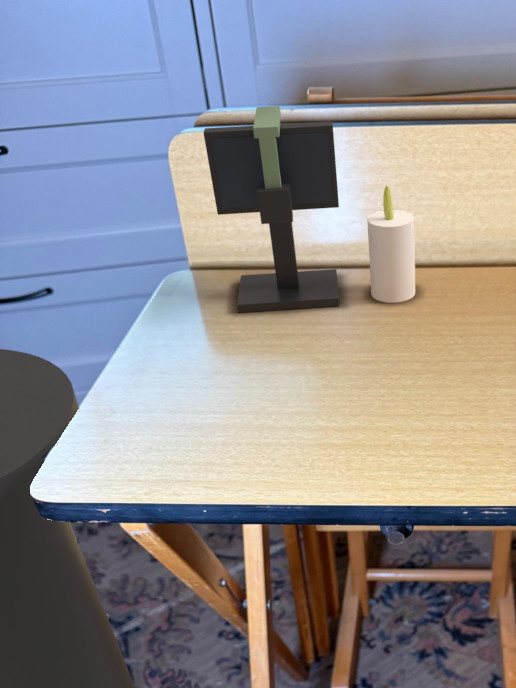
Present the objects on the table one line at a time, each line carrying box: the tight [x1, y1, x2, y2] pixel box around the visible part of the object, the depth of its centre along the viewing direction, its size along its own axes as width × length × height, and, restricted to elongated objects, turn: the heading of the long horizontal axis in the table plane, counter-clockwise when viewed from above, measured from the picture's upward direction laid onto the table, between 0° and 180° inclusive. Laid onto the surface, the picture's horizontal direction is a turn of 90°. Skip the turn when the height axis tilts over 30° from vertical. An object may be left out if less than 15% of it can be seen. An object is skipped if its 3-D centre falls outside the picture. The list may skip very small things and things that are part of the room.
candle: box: [366, 185, 416, 304], centre depth 108 cm, size 6×6×15 cm
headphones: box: [252, 105, 294, 225], centre depth 102 cm, size 4×12×11 cm, turn 5°
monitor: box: [203, 120, 340, 314], centre depth 106 cm, size 16×10×22 cm, turn 95°
